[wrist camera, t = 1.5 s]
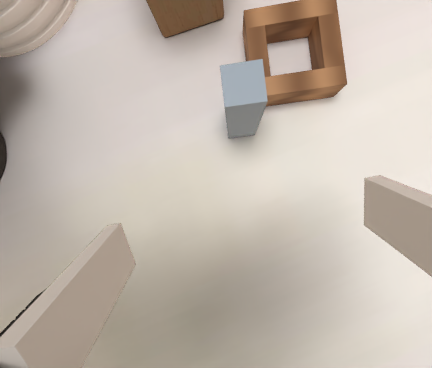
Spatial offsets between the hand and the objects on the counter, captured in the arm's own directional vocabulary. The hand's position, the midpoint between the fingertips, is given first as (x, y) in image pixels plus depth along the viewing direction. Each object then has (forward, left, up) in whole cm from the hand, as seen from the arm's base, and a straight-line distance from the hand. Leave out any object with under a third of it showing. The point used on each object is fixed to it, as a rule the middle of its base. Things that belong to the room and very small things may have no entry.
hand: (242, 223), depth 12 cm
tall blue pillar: (-9, +7, -21) cm, 24 cm away
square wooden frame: (-12, +18, -21) cm, 31 cm away
